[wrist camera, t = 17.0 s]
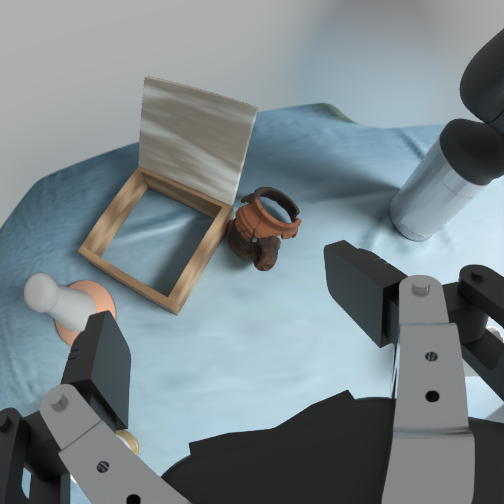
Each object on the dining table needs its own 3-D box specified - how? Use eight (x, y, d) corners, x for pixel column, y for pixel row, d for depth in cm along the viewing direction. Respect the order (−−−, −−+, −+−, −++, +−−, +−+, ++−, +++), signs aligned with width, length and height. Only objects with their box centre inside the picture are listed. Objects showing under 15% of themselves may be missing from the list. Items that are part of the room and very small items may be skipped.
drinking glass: (443, 388, 38) (485, 385, 29) (427, 353, 40) (467, 344, 31) (469, 363, 39) (511, 356, 30) (454, 330, 41) (494, 316, 32)
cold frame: (168, 153, 51) (148, 74, 35) (252, 188, 49) (258, 105, 33) (90, 262, 43) (30, 205, 27) (177, 315, 41) (139, 275, 25)
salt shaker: (64, 303, 39) (12, 275, 27) (95, 288, 41) (49, 254, 29) (75, 341, 38) (21, 323, 26) (108, 325, 39) (60, 303, 27)
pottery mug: (219, 214, 48) (243, 174, 42) (273, 227, 52) (300, 193, 46) (225, 282, 40) (255, 243, 35) (287, 291, 45) (322, 258, 39)
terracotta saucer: (79, 270, 43) (76, 268, 42) (128, 303, 41) (126, 301, 40) (48, 325, 39) (44, 324, 38) (95, 363, 38) (92, 363, 37)
